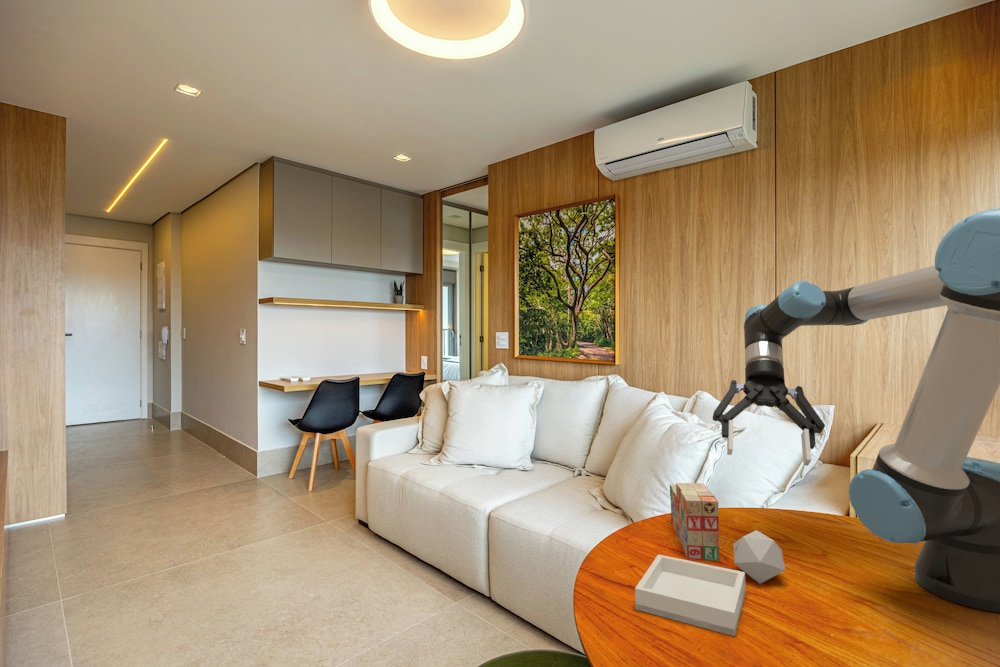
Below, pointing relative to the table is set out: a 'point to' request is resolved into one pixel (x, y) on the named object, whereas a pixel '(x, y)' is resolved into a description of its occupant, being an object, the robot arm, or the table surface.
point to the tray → (692, 593)
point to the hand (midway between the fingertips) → (767, 457)
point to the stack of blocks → (695, 520)
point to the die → (758, 556)
